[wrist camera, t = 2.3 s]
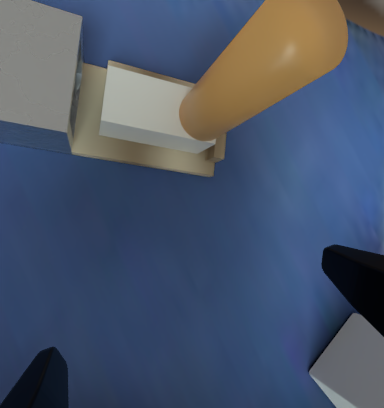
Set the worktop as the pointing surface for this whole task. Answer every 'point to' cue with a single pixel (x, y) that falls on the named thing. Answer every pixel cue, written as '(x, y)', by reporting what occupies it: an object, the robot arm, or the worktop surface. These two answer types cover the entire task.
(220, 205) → the worktop surface
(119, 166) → the worktop surface
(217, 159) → the cradle
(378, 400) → the milk carton
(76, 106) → the socket
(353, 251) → the robot arm
